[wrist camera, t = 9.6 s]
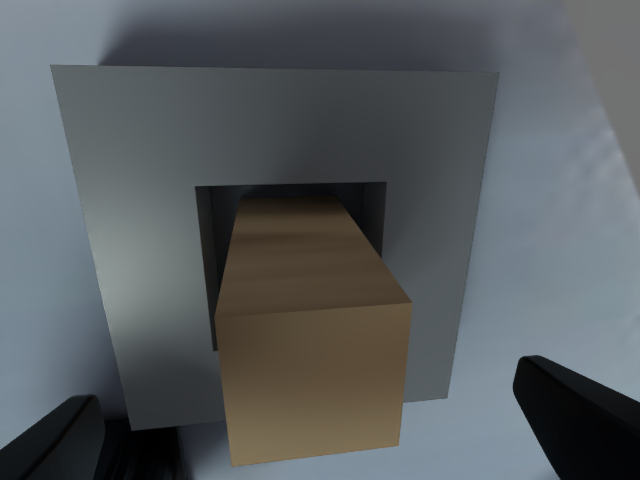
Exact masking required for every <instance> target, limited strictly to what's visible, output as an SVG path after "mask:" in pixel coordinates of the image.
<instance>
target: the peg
mask: <svg viewBox="0 0 640 480" xmlns="http://www.w3.org/2000/svg"><path fill="white" fill-rule="evenodd" d="M412 304H413V303H412V301H411V300H410V298H409V297H408V296H407V294H406V293H405V292H404V290H403V289H402V287H401V286H400V285H399V283H398V282H397V280H396V279H395V278H394V276H393V275H392V273H391V272H390V271H389V269H388V268H387V266H386V265H385V264H384V262H383V261H382V259H381V258H380V257H379V255H378V254H377V252H376V251H375V250H374V248H373V247H372V245H371V244H370V243H369V241H368V240H367V238H366V237H365V236H364V234H363V233H362V231H361V230H360V229H359V227H358V226H357V224H356V223H355V222H354V220H353V219H352V217H351V216H350V215H349V213H348V212H347V210H346V209H345V208H344V206H343V205H342V203H341V202H340V201H339V199H338V198H337V196H336V195H326V196H299V197H272V198H245V199H239V204H238V208H237V213H236V218H235V223H234V227H233V232H232V237H231V241H230V246H229V251H228V256H227V260H226V265H225V270H224V275H223V279H222V284H221V289H220V293H219V298H218V303H217V308H216V312H215V317H214V319H215V328H216V337H217V345H218V354H219V362H220V371H221V379H222V388H223V396H224V405H225V414H226V422H227V431H228V439H229V448H230V456H231V465H232V467H234V466H242V465H250V464H258V463H266V462H274V461H282V460H290V459H298V458H306V457H314V456H322V455H330V454H338V453H346V452H354V451H362V450H370V449H378V448H386V447H394V446H399V437H400V427H401V416H402V406H403V396H404V386H405V375H406V365H407V355H408V345H409V334H410V324H411V314H412Z"/></svg>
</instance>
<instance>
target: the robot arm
mask: <svg viewBox="0 0 640 480" xmlns="http://www.w3.org/2000/svg"><path fill="white" fill-rule="evenodd" d="M513 392H514V395H515V398H516V400H517V402H518V404H519V405H520V407H521V409H522V411H523V413H524V415H525V417H526V419H527V421H528V423H529V425H530V426H531V428H532V430H533V432H534V434H535V436H536V438H537V440H538V442H539V444H540V445H541V447H542V449H543V451H544V453H545V455H546V457H547V458H548V460H549V462H550V464H551V465H552V467H553V469H554V470H555V472H556V473H557V475H558V477H559V478H560V480H640V402H638V401H636V400H634V399H632V398H629V397H627V396H625V395H623V394H621V393H619V392H617V391H615V390H613V389H610V388H608V387H606V386H604V385H602V384H600V383H598V382H596V381H593V380H591V379H589V378H587V377H585V376H583V375H581V374H579V373H576V372H574V371H572V370H570V369H568V368H566V367H564V366H562V365H559V364H557V363H555V362H553V361H551V360H549V359H547V358H545V357H542V356H539V355H533V356H523V357H521V358H520V359H519V361H518V365H517V369H516V373H515V377H514V382H513ZM0 480H188V478H187V472H186V466H185V460H184V454H183V448H182V442H181V436H180V429H179V426H173V427H163V428H154V429H144V430H134V431H132V430H131V426H130V421H129V419H119V420H109V421H104V420H103V416H102V412H101V408H100V404H99V401H98V398H97V397H96V396H95V395H93V394H88V395H77V396H72V397H70V398H69V399H67V400H66V401H65V402H63V403H62V404H61V405H59V406H58V407H57V408H55V409H54V410H53V411H51V412H50V413H49V414H47V415H46V416H45V417H43V418H42V419H41V420H39V421H38V422H37V423H35V424H34V425H33V426H31V427H30V428H29V429H27V430H26V431H25V432H23V433H22V434H21V435H19V436H18V437H17V438H15V439H14V440H13V441H11V442H10V443H9V444H7V445H6V446H5V447H3V448H2V449H1V450H0Z"/></svg>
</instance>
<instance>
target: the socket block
mask: <svg viewBox="0 0 640 480" xmlns="http://www.w3.org/2000/svg"><path fill="white" fill-rule="evenodd" d="M50 67H51V72H52V76H53V81H54V85H55V90H56V94H57V99H58V103H59V107H60V112H61V116H62V121H63V125H64V130H65V134H66V139H67V143H68V148H69V152H70V157H71V161H72V166H73V170H74V175H75V179H76V184H77V188H78V193H79V197H80V202H81V206H82V211H83V215H84V220H85V224H86V229H87V233H88V238H89V242H90V247H91V251H92V255H93V260H94V264H95V269H96V273H97V278H98V282H99V287H100V291H101V296H102V300H103V305H104V309H105V314H106V318H107V323H108V327H109V332H110V336H111V341H112V345H113V350H114V354H115V359H116V363H117V368H118V372H119V377H120V381H121V386H122V390H123V395H124V399H125V404H126V408H127V412H128V417H129V421H130V426H131V430H132V431H134V430H144V429H154V428H163V427H173V426H183V425H192V424H202V423H212V422H222V421H226V414H225V405H224V396H223V388H222V379H221V371H220V362H219V354H218V345H217V337H216V328H215V319H214V317H215V312H216V308H217V303H218V298H219V286H218V276H217V266H216V255H215V245H214V235H213V225H212V215H211V205H210V194H209V186H221V185H263V184H306V183H348V182H365V185H364V205H363V225H362V233H363V234H364V236H365V237H366V238H367V240H368V241H369V243H370V244H371V245H372V247H373V248H374V250H375V251H376V252H377V254H378V255H379V257H380V258H381V259H382V261H383V262H384V264H385V265H386V266H387V268H388V269H389V271H390V272H391V273H392V275H393V276H394V278H395V279H396V280H397V282H398V283H399V285H400V286H401V287H402V289H403V290H404V292H405V293H406V294H407V296H408V297H409V298H410V300H411V301H412V303H413V304H412V314H411V324H410V334H409V345H408V355H407V365H406V375H405V386H404V396H403V403H406V402H415V401H425V400H435V399H444V398H447V397H448V391H449V384H450V378H451V372H452V366H453V359H454V353H455V347H456V341H457V334H458V328H459V322H460V316H461V309H462V303H463V297H464V291H465V284H466V278H467V272H468V266H469V259H470V253H471V247H472V241H473V234H474V228H475V222H476V216H477V209H478V203H479V197H480V191H481V184H482V178H483V172H484V166H485V159H486V153H487V147H488V141H489V134H490V128H491V122H492V116H493V109H494V103H495V97H496V91H497V84H498V78H499V72H470V71H407V70H344V69H282V68H219V67H157V66H94V65H50Z"/></svg>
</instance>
